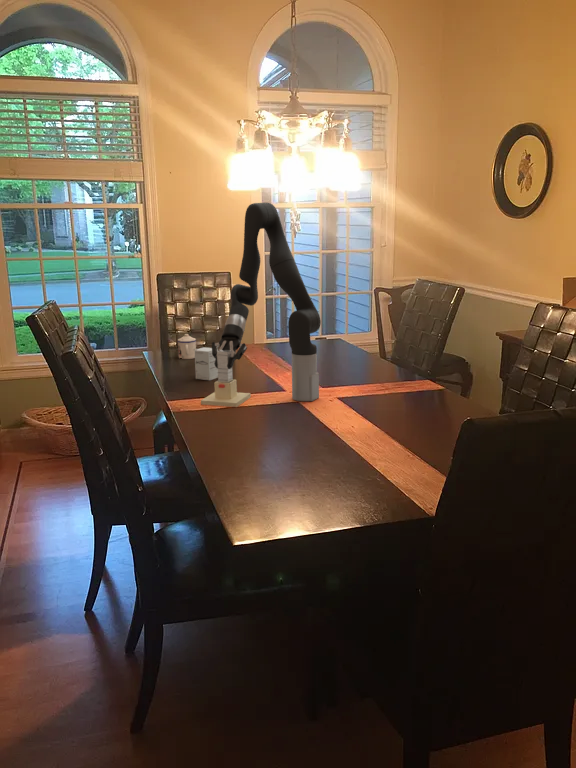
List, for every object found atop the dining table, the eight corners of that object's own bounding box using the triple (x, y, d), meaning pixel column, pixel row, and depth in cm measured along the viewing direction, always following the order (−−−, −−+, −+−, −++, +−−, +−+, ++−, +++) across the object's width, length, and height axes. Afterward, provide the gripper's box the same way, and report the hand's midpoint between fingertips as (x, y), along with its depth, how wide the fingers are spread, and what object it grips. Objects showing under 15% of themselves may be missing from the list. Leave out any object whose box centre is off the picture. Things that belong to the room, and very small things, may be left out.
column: (233, 389, 242) (231, 349, 238) (228, 392, 238) (227, 352, 234) (222, 388, 243) (221, 349, 239) (218, 391, 239) (216, 351, 235)
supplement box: (195, 379, 275) (193, 349, 272) (205, 375, 281) (203, 346, 278) (209, 380, 272) (208, 351, 269) (219, 377, 278) (218, 348, 275)
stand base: (250, 397, 246) (250, 377, 244) (236, 407, 233) (236, 386, 231) (216, 394, 250) (215, 375, 248) (200, 404, 237) (200, 384, 235)
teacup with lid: (178, 356, 323) (177, 332, 320) (197, 355, 324) (195, 332, 322) (177, 361, 312) (176, 337, 309) (196, 360, 313) (195, 336, 310)
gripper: (213, 322, 243) (201, 360, 235) (249, 323, 239) (238, 362, 231) (219, 334, 250) (208, 372, 241) (254, 335, 245) (244, 374, 237)
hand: (222, 367), depth 236 cm, fingers closed on column, 4 cm apart
